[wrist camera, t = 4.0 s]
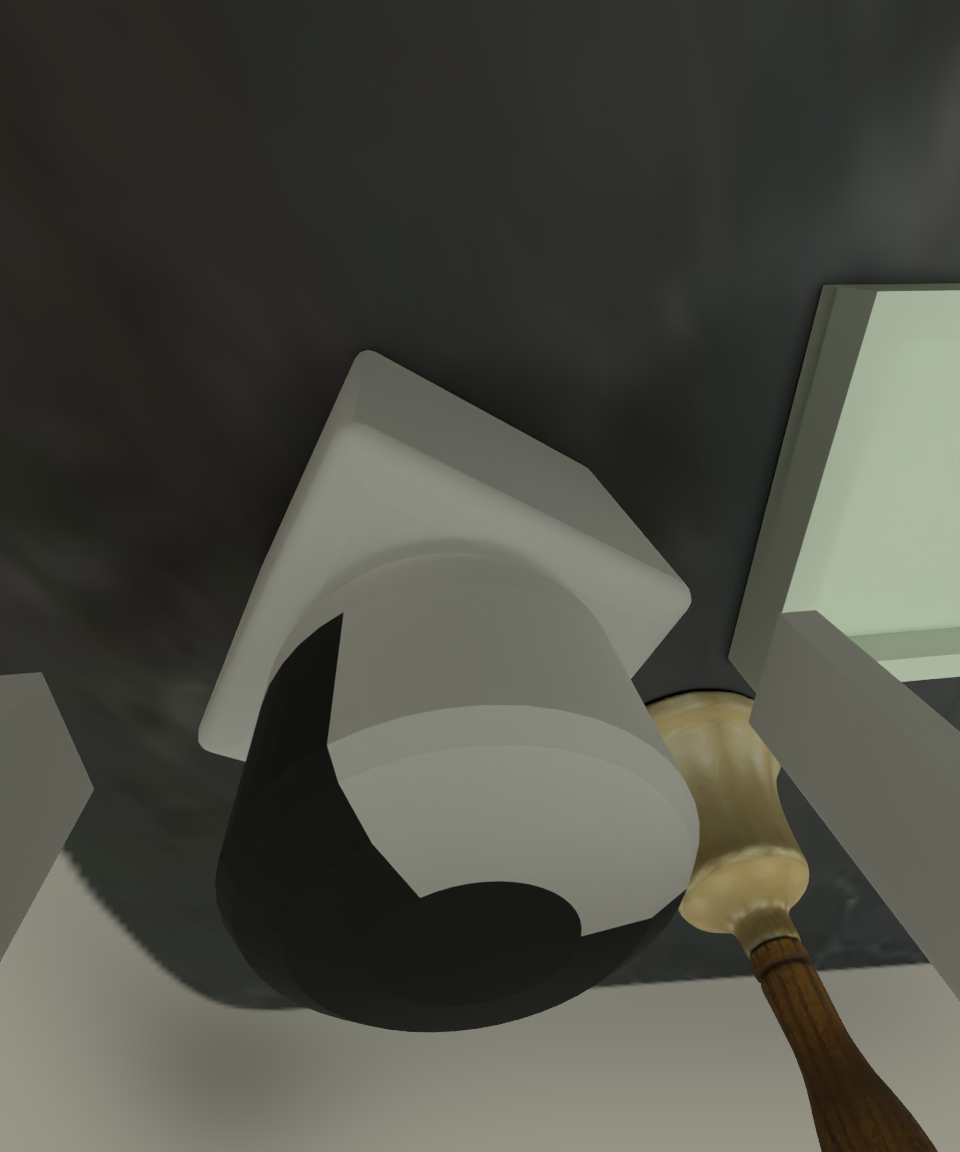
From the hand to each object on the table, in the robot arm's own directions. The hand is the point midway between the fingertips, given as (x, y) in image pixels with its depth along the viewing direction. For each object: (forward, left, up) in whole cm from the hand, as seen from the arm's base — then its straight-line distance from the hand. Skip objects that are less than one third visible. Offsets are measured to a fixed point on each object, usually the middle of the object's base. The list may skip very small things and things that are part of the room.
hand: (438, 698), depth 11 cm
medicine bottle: (0, 0, -7) cm, 7 cm away
